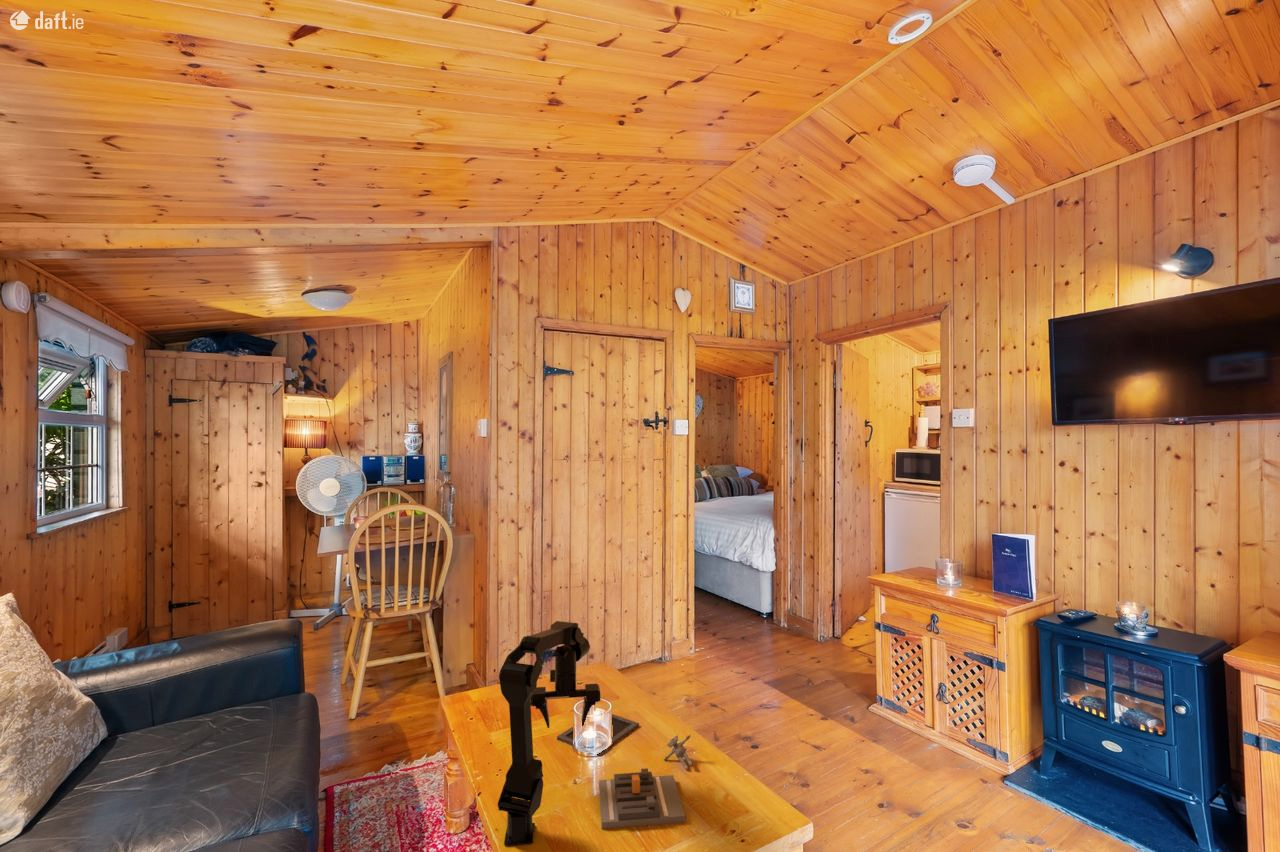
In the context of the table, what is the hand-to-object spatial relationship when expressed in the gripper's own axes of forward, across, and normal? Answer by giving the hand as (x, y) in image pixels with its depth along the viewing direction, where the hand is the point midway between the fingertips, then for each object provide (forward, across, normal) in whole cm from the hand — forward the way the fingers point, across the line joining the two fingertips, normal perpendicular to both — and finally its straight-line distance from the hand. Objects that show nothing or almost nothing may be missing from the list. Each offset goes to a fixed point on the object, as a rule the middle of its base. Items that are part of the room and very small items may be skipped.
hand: (565, 726), depth 158 cm
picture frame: (+14, -11, -22) cm, 29 cm away
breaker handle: (+10, -17, +14) cm, 25 cm away
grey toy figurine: (+14, -33, -3) cm, 36 cm away
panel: (+14, -18, +14) cm, 27 cm away
